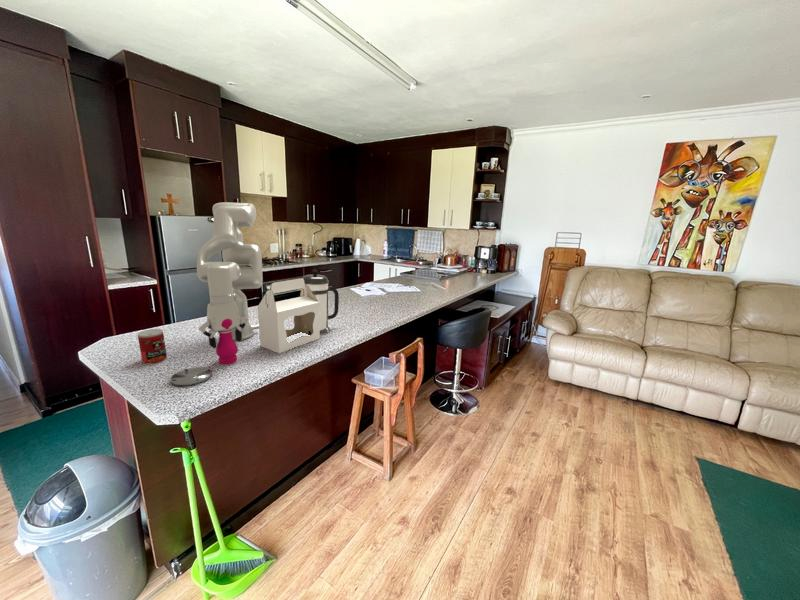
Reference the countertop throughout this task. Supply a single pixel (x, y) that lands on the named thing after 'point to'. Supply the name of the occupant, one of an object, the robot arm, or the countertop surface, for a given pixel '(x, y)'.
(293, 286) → the gable box
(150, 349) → the canned food
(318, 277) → the coffee press
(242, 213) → the robot arm
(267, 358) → the countertop surface
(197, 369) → the grey metal disc
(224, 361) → the pepper mill
